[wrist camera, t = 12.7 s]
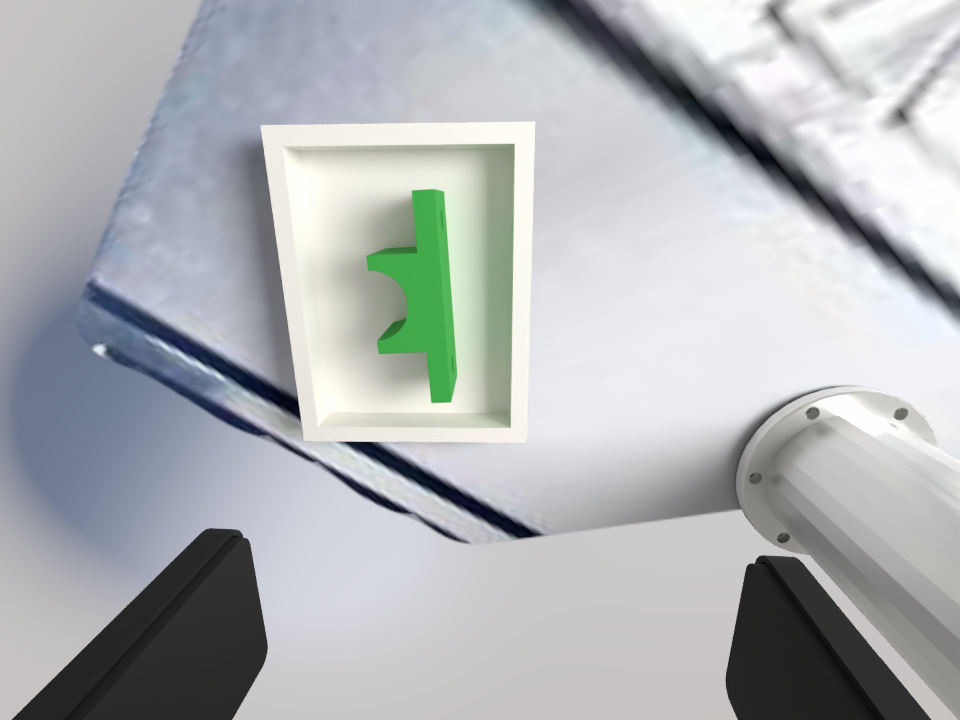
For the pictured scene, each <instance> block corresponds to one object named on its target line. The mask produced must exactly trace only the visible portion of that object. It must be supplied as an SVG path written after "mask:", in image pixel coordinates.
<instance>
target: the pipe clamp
mask: <svg viewBox="0 0 960 720" xmlns="http://www.w3.org/2000/svg"><path fill="white" fill-rule="evenodd" d="M412 200H413V211H414V222H415V233H416V244H417V247H401V248H385V249H383V250H380V251H377V252H375V253H372V254H370V255H367V256H366V258H367V266H368V271H377V272H381V273H384V274H386V275H388V276H390V277H391V278H393V279H394V280H395V281H396V282H397V283H398V284H399V285H400V286H401V288H402V289H403V291H404V293H405V295H406V298H407V302H408V315H407V318H405V319H403V320H400V321H394V322H393V323H392V324H391V325H390V327H389V328H388V329H387V330H386V331H385V332H384V333H383V335H382V336H381V337H380V338H379V339H378V340H377V345H378V353H379V354H394V353H418V352H427V363H428V373H429V384H430V395H431V403H450V402H451V401H452V397H453V392H454V388H455V383H456V379H457V363H456V349H455V335H454V321H453V308H452V294H451V280H450V266H449V252H448V238H447V224H446V211H445V197H444V192H443V191H440V190H436V189H427V190H412Z"/></svg>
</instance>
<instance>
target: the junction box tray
mask: <svg viewBox="0 0 960 720" xmlns="http://www.w3.org/2000/svg"><path fill="white" fill-rule="evenodd" d="M261 132H262V140H263V147H264V154H265V161H266V169H267V176H268V183H269V190H270V198H271V205H272V212H273V219H274V227H275V234H276V241H277V248H278V256H279V263H280V270H281V278H282V285H283V292H284V299H285V307H286V314H287V321H288V328H289V336H290V343H291V350H292V357H293V365H294V372H295V379H296V386H297V394H298V401H299V408H300V415H301V423H302V430H303V437H304V441H360V442H498V443H527V416H528V377H529V339H530V301H531V263H532V224H533V186H534V148H535V122H472V123H396V124H320V125H261ZM427 189H436V190H440V191H443V192H444V197H445V211H446V224H447V238H448V252H449V266H450V280H451V294H452V308H453V321H454V335H455V349H456V363H457V379H456V383H455V388H454V392H453V397H452V401H451V402H450V403H431V395H430V384H429V373H428V363H427V352H418V353H394V354H379V353H378V345H377V340H378V339H379V338H380V337H381V336H382V335H383V333H384V332H385V331H386V330H387V329H388V328H389V327H390V325H391V324H392V323H393V322H394V321H400V320H403V319H405V318H407V315H408V302H407V298H406V295H405V293H404V291H403V289H402V288H401V286H400V285H399V284H398V283H397V282H396V281H395V280H394V279H393V278H391V277H390V276H388V275H386V274H384V273H381V272H377V271H368V266H367V258H366V256H367V255H370V254H372V253H375V252H377V251H380V250H383V249H385V248H401V247H417V244H416V233H415V222H414V211H413V200H412V190H427Z"/></svg>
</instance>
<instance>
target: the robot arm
mask: <svg viewBox="0 0 960 720" xmlns="http://www.w3.org/2000/svg"><path fill="white" fill-rule="evenodd" d="M736 492H737V497H738V501H739V505H740V507H741V509H742V511H743V513H744V515H745V517H746V518H747V519H748V520H749V522H750V523H751V524H752V526H753V527H754V528H755V529H756V530H757V531H758V532H759V533H760V534H761V535H762V536H763V537H764V538H765V539H766V540H768V541H769V542H771V543H773V544H774V545H776V546H778V547H780V548H783V549H786V550H788V551H791V552H795V553H800V554H806V555H810V556H811V557H812V558H813V559H814V560H815V562H816V563H817V564H818V565H819V566H820V567H821V568H822V569H823V570H824V572H825V573H826V574H827V575H828V576H829V577H830V578H831V579H832V580H833V581H834V583H835V584H836V585H837V586H838V587H839V588H840V589H841V590H842V591H843V593H844V594H845V595H846V596H847V597H848V598H849V599H850V600H851V601H852V603H853V604H854V605H855V606H856V607H857V608H858V609H859V610H860V611H861V612H862V614H863V615H865V617H866V618H867V619H868V620H869V621H870V622H871V624H872V625H873V626H874V627H875V628H876V629H877V630H878V631H879V632H880V633H881V635H882V636H883V637H884V638H885V639H886V640H887V641H888V642H889V643H890V644H891V646H892V647H893V648H894V649H895V650H896V651H897V652H898V653H899V655H901V657H902V658H903V659H904V660H905V661H906V662H907V663H908V664H909V666H910V667H911V668H912V669H913V670H914V671H915V672H916V673H917V674H918V676H919V677H920V678H921V679H922V680H923V681H924V682H925V683H926V684H927V685H928V687H929V688H930V689H931V690H932V691H933V692H934V693H935V694H936V695H937V697H938V698H939V699H940V700H941V701H942V702H943V703H944V704H945V705H946V707H947V708H948V709H949V710H950V711H951V712H952V713H953V714H954V715H955V716H956V718H957V719H958V720H960V460H959V459H957V458H955V457H953V456H951V455H949V454H948V453H946V452H944V451H942V450H940V449H938V443H937V440H936V436H935V433H934V430H933V428H932V427H931V425H930V424H929V422H928V421H927V419H926V418H925V416H924V415H922V414H921V413H920V412H919V411H918V410H917V409H916V408H915V407H914V406H912V405H911V404H909V403H907V402H905V401H903V400H901V399H899V398H898V397H896V396H893V395H891V394H888V393H886V392H883V391H881V390H877V389H872V388H867V387H856V386H842V387H836V388H830V389H824V390H821V391H818V392H815V393H812V394H809V395H806V396H803V397H801V398H799V399H797V400H795V401H793V402H791V403H789V404H787V405H786V406H784V407H783V408H782V409H780V410H779V411H777V412H776V413H775V414H773V415H772V416H771V417H770V418H769V419H768V420H767V421H766V422H765V423H764V424H763V425H762V426H761V427H760V428H759V429H758V430H757V431H756V432H755V434H754V435H753V437H752V438H751V439H750V441H749V442H748V444H747V445H746V448H745V450H744V452H743V454H742V456H741V458H740V461H739V465H738V470H737V474H736ZM267 648H268V646H267V638H266V632H265V627H264V621H263V615H262V609H261V604H260V598H259V592H258V586H257V581H256V575H255V569H254V563H253V558H252V552H251V547H250V542H249V540H248V539H246V538H243V535H242V533H241V532H240V531H239V530H233V529H213V528H210V529H206V530H205V531H203V532H202V533H201V534H200V535H199V536H198V537H197V538H196V539H195V540H194V541H193V542H192V543H191V544H190V545H188V546H187V547H186V549H184V550H183V551H182V552H181V553H180V554H179V555H178V556H177V557H176V558H175V559H174V560H173V561H172V562H171V563H170V564H169V565H168V566H167V567H166V568H165V569H164V570H163V571H162V572H161V573H160V574H159V575H158V576H157V577H156V578H155V579H154V580H153V581H152V582H151V583H150V584H149V585H148V586H147V587H146V588H145V589H144V590H143V591H142V592H141V593H140V594H139V595H138V596H137V597H136V598H135V599H134V600H133V601H132V602H131V603H130V604H129V605H128V606H127V607H126V608H125V609H124V610H123V611H122V612H121V613H120V614H118V615H117V616H116V618H114V619H113V621H111V622H110V623H109V624H108V625H107V626H106V627H105V628H104V629H103V630H102V631H101V632H100V633H99V634H98V635H97V636H96V637H95V638H94V639H93V640H92V641H91V642H90V643H89V644H88V645H87V646H86V647H85V648H84V649H83V650H82V651H81V652H80V653H79V654H78V655H77V656H76V657H75V658H74V659H73V660H72V661H71V662H70V663H69V664H68V665H67V666H66V667H65V668H64V669H63V670H62V671H61V672H60V673H59V674H58V675H57V676H56V677H55V678H54V679H53V680H52V681H51V682H50V683H48V684H47V686H46V687H44V688H43V690H41V691H40V692H39V693H38V694H37V695H36V696H35V697H34V698H33V699H32V700H31V701H30V702H29V703H28V704H27V705H26V706H25V707H24V708H23V709H22V710H21V711H20V712H19V713H18V714H17V715H16V716H15V717H14V718H13V719H12V720H232V719H233V717H234V716H235V714H236V712H237V710H238V709H239V707H240V705H241V703H242V702H243V700H244V698H245V696H246V695H247V693H248V691H249V689H250V688H251V686H252V684H253V682H254V681H255V679H256V677H257V675H258V674H259V672H260V670H261V669H262V667H263V664H264V662H265V659H266V655H267ZM726 689H727V693H728V697H729V700H730V703H731V705H732V707H733V710H734V712H735V714H736V716H737V719H738V720H931V719H930V718H929V716H928V715H927V714H926V713H925V711H924V710H923V709H922V708H921V707H920V705H919V704H918V703H917V702H916V700H915V699H914V698H913V697H912V696H911V694H910V693H909V692H908V691H907V689H906V688H905V687H904V686H903V685H902V683H901V682H900V681H899V680H898V679H897V677H896V676H895V675H894V674H893V672H892V671H891V670H890V669H889V668H888V666H887V665H886V664H885V663H884V661H883V660H882V659H881V658H880V657H879V656H878V655H877V653H876V652H875V651H874V650H873V649H872V647H871V646H870V645H869V644H868V643H867V641H866V640H865V639H864V638H863V636H862V635H861V634H860V633H859V631H858V630H857V629H856V628H855V627H854V625H853V624H852V623H851V622H850V620H849V619H848V618H847V617H846V616H845V614H844V613H843V612H842V611H841V609H840V608H839V607H838V606H837V605H836V603H835V602H834V601H833V600H832V598H831V597H830V596H829V595H828V594H827V592H826V591H825V590H824V589H823V587H822V586H821V585H820V584H819V583H818V582H817V580H816V579H815V578H814V576H813V575H812V574H811V573H810V572H809V570H808V569H807V568H806V567H805V565H804V564H803V563H802V562H801V561H800V560H799V559H797V558H795V557H784V556H759V557H758V558H757V559H756V562H755V564H749V565H748V566H747V568H746V572H745V577H744V583H743V588H742V593H741V598H740V603H739V609H738V614H737V620H736V625H735V630H734V635H733V641H732V646H731V651H730V657H729V662H728V667H727V672H726Z"/></svg>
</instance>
